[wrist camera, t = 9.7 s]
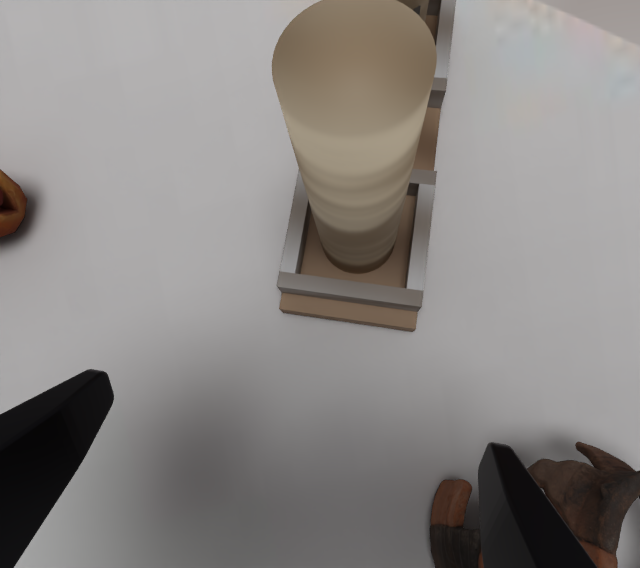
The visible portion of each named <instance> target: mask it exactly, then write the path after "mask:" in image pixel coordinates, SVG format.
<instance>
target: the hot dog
mask: <svg viewBox="0 0 640 568" xmlns="http://www.w3.org/2000/svg"><path fill="white" fill-rule="evenodd" d="M26 203H27V198H26V197H25V195H24V193H23V191H22V190H21V188H20V186H19V185H18V184H16V183H15V182H14V181H13V180H12V179H11V178H10V177H8V176H7V175H6V174H5V173H4V172H3V171H1V170H0V237H2V236H5V235H8V234H11V233H14V232H15V231H16V229H17V228H18V226H19V225H20V223H21V221H22V220H23V218H24V215H25V209H26Z"/></svg>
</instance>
